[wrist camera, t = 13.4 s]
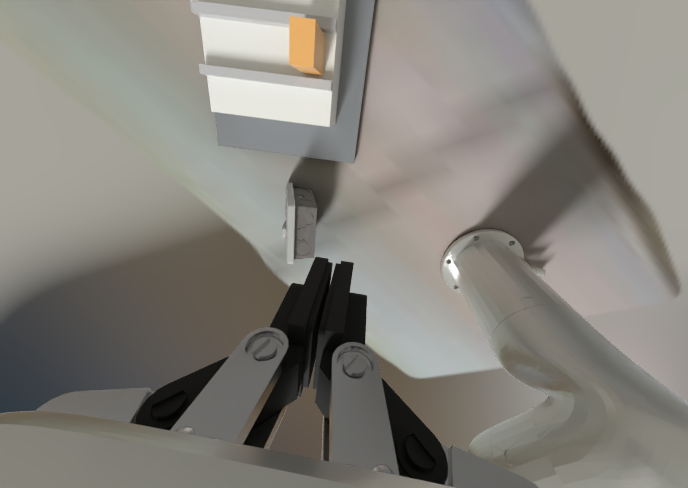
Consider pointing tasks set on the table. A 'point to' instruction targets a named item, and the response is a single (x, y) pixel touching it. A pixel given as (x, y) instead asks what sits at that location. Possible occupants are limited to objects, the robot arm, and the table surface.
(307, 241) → the electrical switch
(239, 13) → the block
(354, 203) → the table surface
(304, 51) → the handle
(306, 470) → the robot arm
